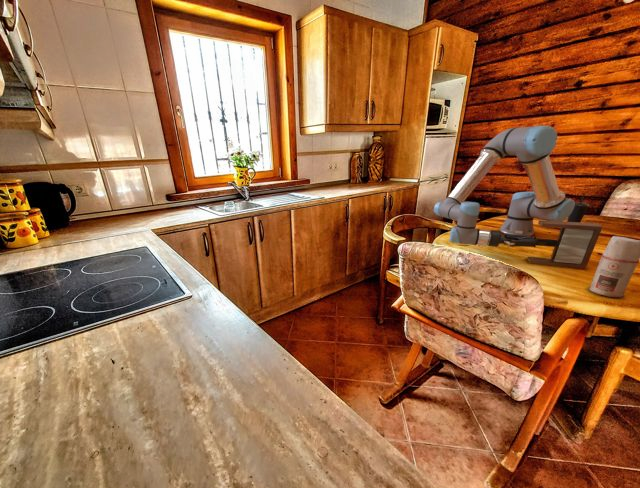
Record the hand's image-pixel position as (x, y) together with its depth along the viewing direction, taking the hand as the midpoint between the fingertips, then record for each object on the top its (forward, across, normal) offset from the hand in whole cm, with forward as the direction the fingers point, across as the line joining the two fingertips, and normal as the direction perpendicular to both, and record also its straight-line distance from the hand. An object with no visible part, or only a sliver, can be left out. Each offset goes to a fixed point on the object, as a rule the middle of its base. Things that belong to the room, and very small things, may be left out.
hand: (555, 243), depth 116 cm
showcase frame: (+1, +1, -9) cm, 9 cm away
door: (+5, 0, -7) cm, 9 cm away
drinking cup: (+27, -65, -9) cm, 71 cm away
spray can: (+9, +25, -9) cm, 28 cm away
